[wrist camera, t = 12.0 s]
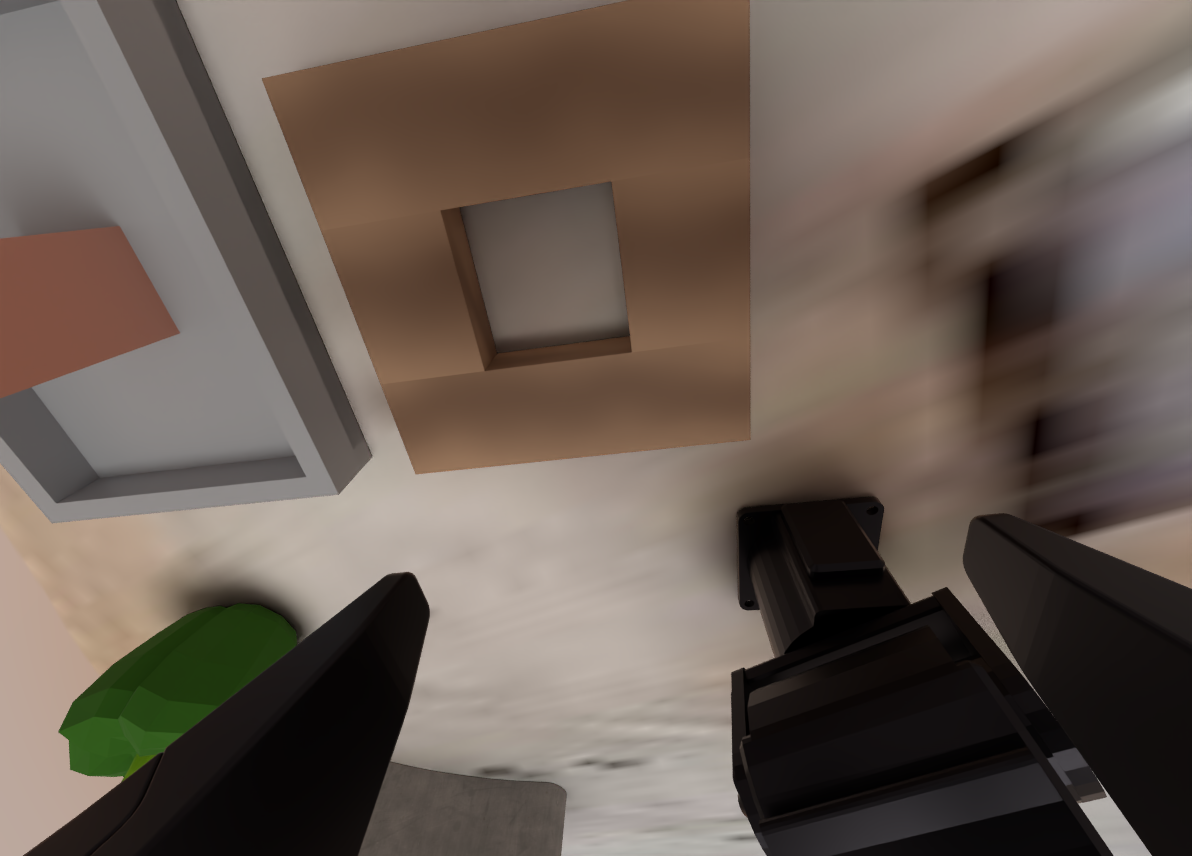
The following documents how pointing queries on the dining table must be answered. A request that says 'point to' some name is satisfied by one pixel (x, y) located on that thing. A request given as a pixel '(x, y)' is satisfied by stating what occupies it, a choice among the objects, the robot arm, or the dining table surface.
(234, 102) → the dining table surface
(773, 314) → the dining table surface
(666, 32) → the socket block
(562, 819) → the hip flask
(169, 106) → the tray
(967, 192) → the dining table surface
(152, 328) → the brown tall block
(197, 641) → the bell pepper
